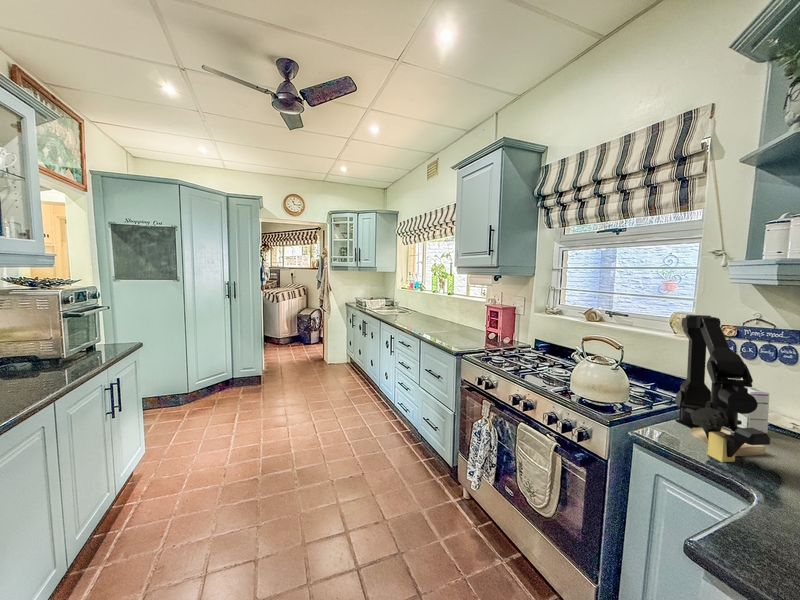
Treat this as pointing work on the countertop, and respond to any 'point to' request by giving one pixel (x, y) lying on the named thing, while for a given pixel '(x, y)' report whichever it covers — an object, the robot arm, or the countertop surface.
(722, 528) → the countertop surface
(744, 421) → the syrup box
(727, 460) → the mustard block
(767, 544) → the countertop surface
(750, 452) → the cutting board
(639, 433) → the countertop surface
